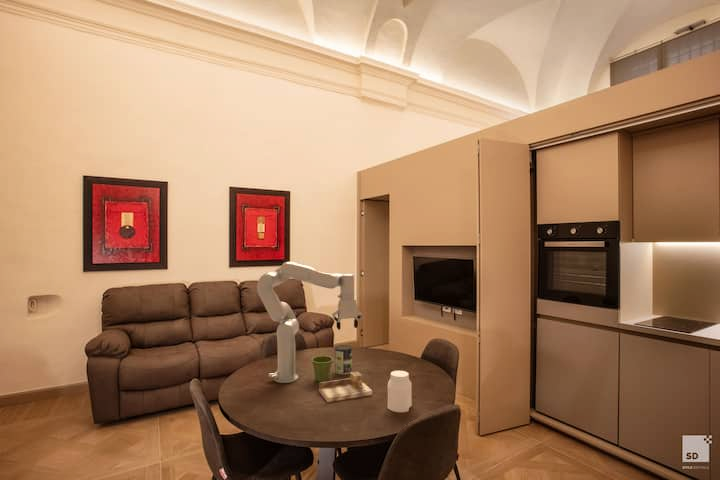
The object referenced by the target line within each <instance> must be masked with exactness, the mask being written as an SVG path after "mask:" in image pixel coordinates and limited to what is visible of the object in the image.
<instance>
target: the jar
mask: <svg viewBox="0 0 720 480" xmlns="http://www.w3.org/2000/svg"><path fill="white" fill-rule="evenodd" d="M409 375H410V374H409V372H407V371H405V370H393V371H391V372H390V378H389V380H388V382H387V409H388V410H389V411H391V412H393V413H406V412H409V411H410V408H411V407H412V405H413V403H412V398H413V397H412V386H413V384H412V382H411V380H410V378H409V377H410V376H409Z"/></svg>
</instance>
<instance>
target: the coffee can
mask: <svg viewBox="0 0 720 480" xmlns="http://www.w3.org/2000/svg"><path fill="white" fill-rule="evenodd" d="M350 372H353V346H351V345H348V344H339V345H336V346H334V373H335V374H336V375H337V374H338V375H350Z"/></svg>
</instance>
